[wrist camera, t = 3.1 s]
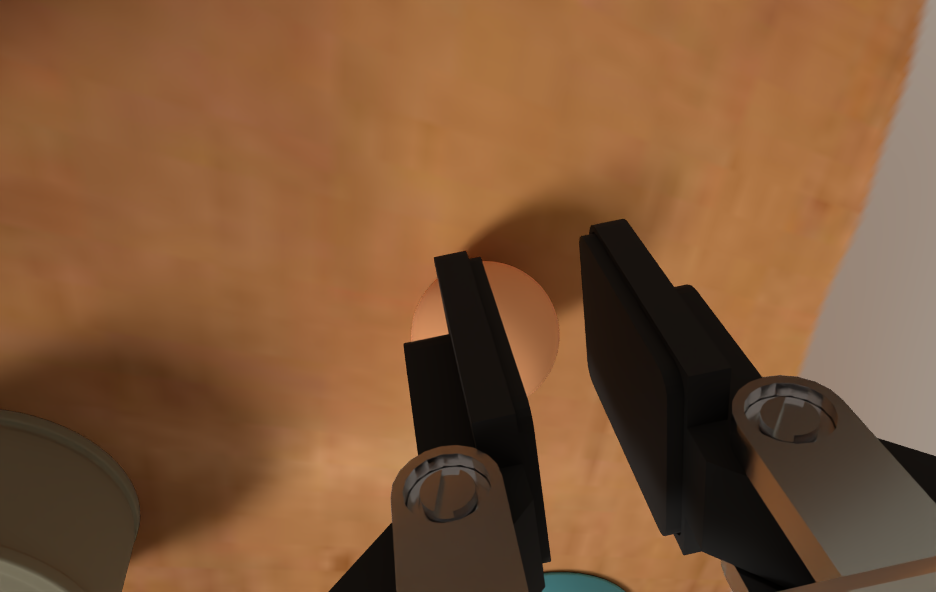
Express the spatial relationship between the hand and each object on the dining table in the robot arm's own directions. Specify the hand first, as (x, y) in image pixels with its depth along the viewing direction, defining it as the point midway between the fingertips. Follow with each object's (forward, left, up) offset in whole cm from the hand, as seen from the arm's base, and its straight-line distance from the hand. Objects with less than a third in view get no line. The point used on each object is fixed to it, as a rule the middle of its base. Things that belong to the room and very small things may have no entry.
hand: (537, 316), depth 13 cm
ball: (+9, 0, -12) cm, 16 cm away
